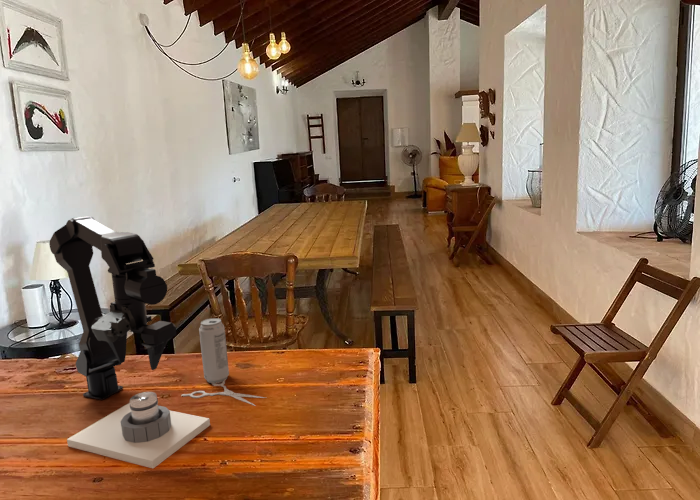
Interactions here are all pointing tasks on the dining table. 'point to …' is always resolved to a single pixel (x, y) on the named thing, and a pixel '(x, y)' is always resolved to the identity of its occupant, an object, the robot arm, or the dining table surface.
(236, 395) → the scissors
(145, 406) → the piston
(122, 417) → the plate
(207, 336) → the energy drink can
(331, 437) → the dining table surface
